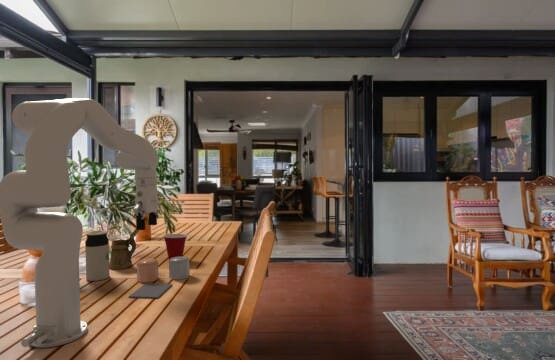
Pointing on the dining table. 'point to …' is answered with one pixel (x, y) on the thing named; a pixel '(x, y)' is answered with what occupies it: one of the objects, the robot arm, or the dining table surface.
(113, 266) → the wooden mug
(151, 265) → the terracotta cup
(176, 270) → the grey cup
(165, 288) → the mat
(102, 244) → the travel mug
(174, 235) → the plastic cup
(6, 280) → the dining table surface
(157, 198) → the robot arm
